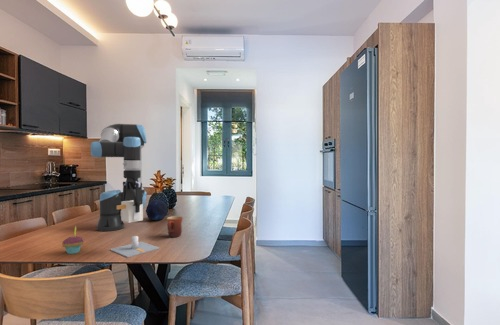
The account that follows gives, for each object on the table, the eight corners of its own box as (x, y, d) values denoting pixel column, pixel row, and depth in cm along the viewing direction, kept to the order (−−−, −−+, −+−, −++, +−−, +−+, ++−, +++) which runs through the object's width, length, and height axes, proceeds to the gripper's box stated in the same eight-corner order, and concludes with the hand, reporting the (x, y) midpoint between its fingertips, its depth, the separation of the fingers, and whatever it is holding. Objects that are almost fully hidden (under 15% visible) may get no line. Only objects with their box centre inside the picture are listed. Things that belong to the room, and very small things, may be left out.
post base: (110, 250, 134) (110, 237, 134) (141, 242, 146) (141, 230, 146) (127, 257, 124) (127, 243, 124) (159, 248, 136) (159, 236, 136)
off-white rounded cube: (135, 218, 139) (135, 199, 139) (143, 220, 135) (142, 201, 135) (113, 221, 131) (113, 202, 131) (121, 224, 127) (121, 203, 126)
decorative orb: (152, 216, 187) (163, 196, 195) (137, 213, 195) (148, 195, 203) (165, 225, 197) (175, 206, 205) (150, 223, 205) (160, 205, 212)
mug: (171, 233, 164) (171, 215, 164) (185, 234, 162) (185, 216, 162) (160, 239, 152) (160, 220, 152) (175, 240, 150) (175, 220, 150)
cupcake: (68, 249, 135) (68, 224, 134) (87, 249, 135) (87, 224, 135) (58, 255, 126) (58, 228, 126) (78, 255, 127) (78, 228, 127)
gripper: (114, 169, 137) (114, 216, 138) (135, 170, 125) (135, 222, 125) (129, 169, 143) (129, 214, 143) (150, 170, 130) (151, 219, 131)
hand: (132, 218), depth 134 cm, fingers closed on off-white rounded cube, 7 cm apart
